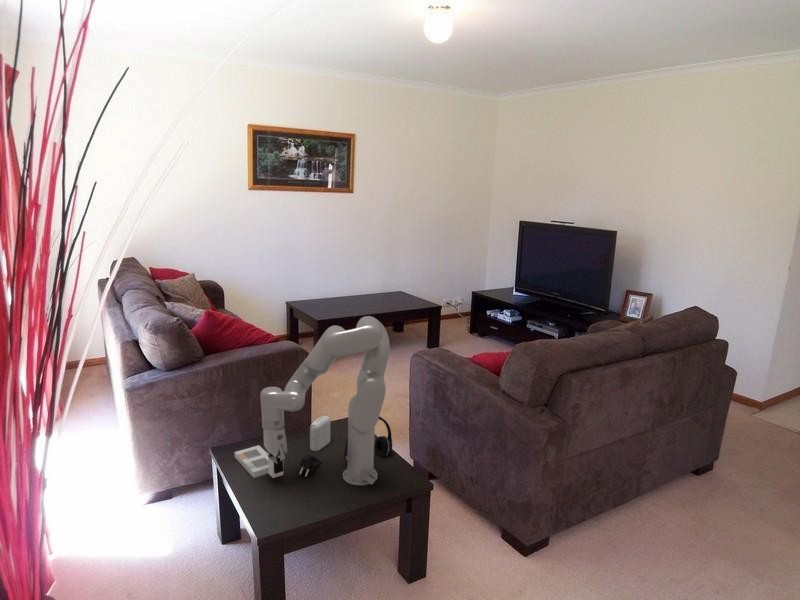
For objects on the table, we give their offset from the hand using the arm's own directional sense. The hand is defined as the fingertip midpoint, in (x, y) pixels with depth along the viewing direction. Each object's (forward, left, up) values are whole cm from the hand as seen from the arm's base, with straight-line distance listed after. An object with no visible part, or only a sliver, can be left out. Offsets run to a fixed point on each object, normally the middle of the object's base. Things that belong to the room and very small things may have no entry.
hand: (276, 469), depth 194 cm
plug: (0, 0, -2) cm, 2 cm away
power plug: (0, -18, -7) cm, 19 cm away
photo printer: (+14, -26, -5) cm, 30 cm away
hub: (+15, +1, -4) cm, 15 cm away
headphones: (-6, -36, -5) cm, 37 cm away
